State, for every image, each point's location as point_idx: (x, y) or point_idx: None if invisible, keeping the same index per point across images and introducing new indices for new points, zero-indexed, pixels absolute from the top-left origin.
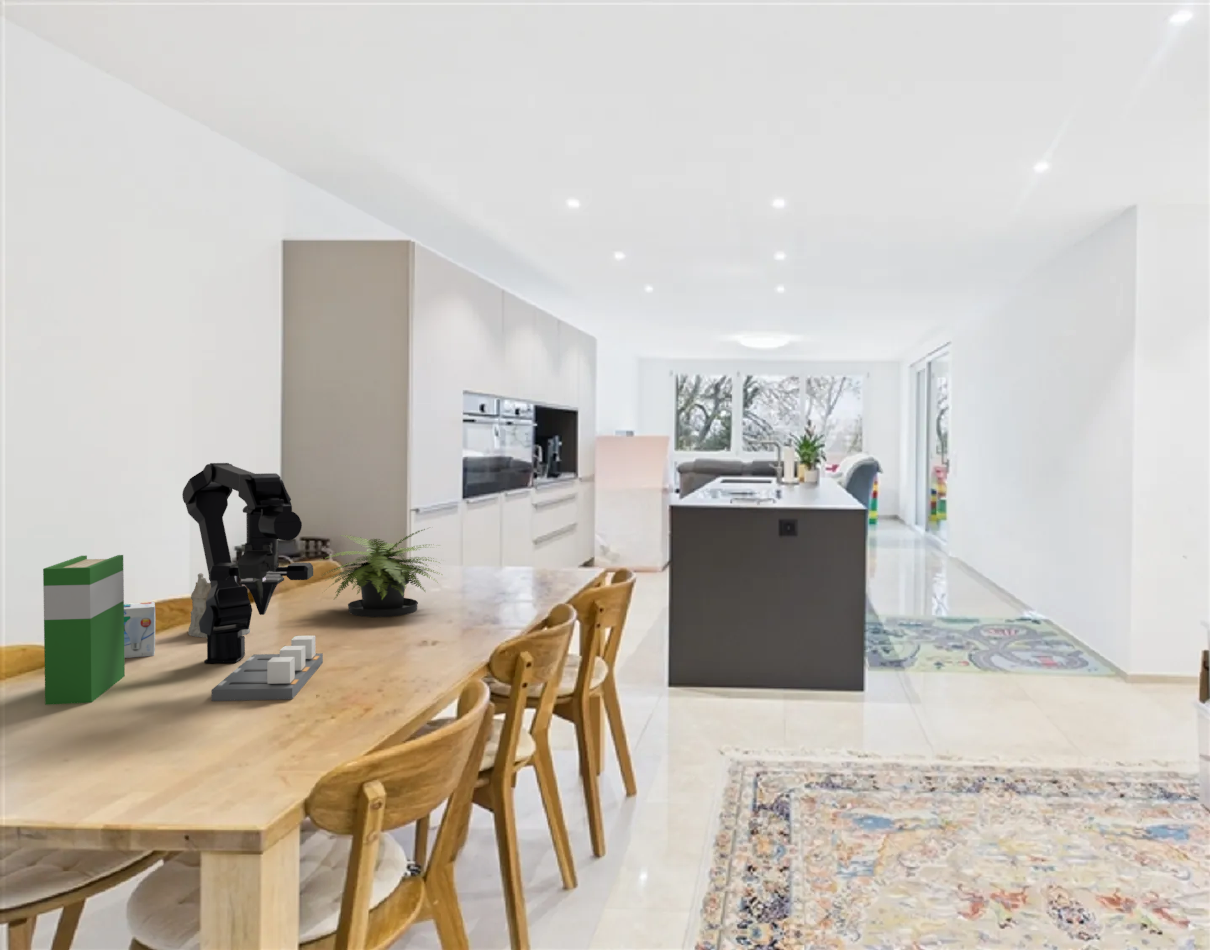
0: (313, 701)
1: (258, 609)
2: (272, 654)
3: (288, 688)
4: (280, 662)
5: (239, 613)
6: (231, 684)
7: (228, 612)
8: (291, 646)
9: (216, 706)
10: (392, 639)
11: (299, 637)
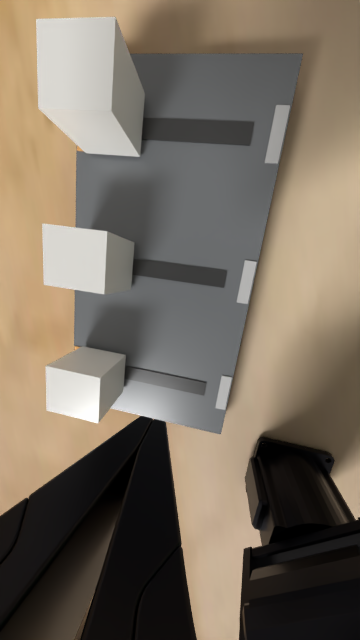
0: None
1: (162, 443)
2: (177, 421)
3: None
4: (70, 22)
5: (289, 606)
6: (246, 121)
7: (349, 618)
8: (81, 282)
9: (272, 21)
10: (4, 506)
11: (83, 399)
